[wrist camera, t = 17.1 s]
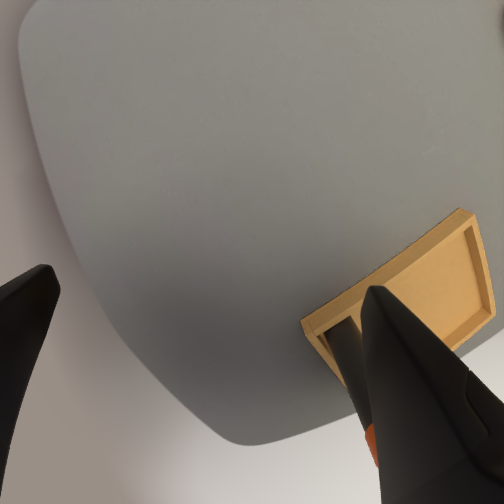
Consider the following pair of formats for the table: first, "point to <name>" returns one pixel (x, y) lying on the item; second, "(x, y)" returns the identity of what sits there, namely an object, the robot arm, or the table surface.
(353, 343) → the cylinder
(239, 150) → the table surface
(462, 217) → the tray
